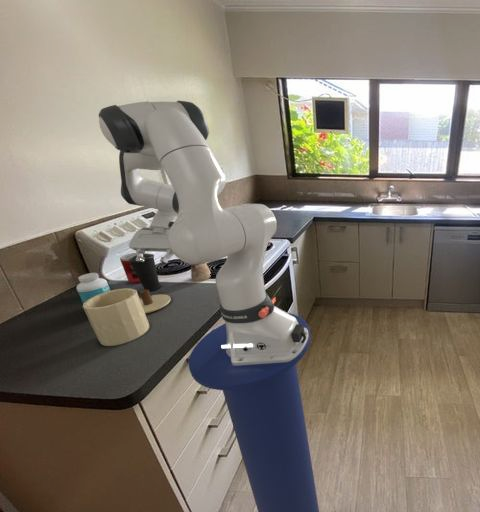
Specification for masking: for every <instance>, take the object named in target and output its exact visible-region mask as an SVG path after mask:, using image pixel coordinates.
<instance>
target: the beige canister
mask: <svg viewBox="0 0 480 512" xmlns="http://www.w3.org/2000/svg"><path fill="white" fill-rule="evenodd" d="M139 296H140V295H139V293H138V290H137V289H134V288H126V287H125V288H117V289H113V290H111V291H108V292H105V293H102V294H99V295H96V296H94V297H92V298H90V299H89V300H87V301H86V302H85V303H84V304H83V303H82V304H83V305H82V308H83V311H84V312H85V315H86V317H87V319H88V321H89V323H90V326H91V327H92V330H93V332H94V333H95V336H96V338H97V341H98V342H99V343H100V345H102V346H105V347H113V346H120V345H123V344H127V343H130V342H131V341H134V340H136V339H138V338H140V337H141V336H143V335H144V334H146V333H147V332H148V331H149V329H150V323H149V320H148V317H147V315H146V314H147V313H145V312H144V309H143V307H142V304H141V301H140V299H141V298H140V297H139Z"/></svg>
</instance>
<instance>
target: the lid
mask: <svg viewBox="0 0 480 512" xmlns="http://www.w3.org/2000/svg"><path fill="white" fill-rule="evenodd" d="M138 294H139V296H140V298H139V299H140V301H141V304H142V307H143V309H144V312H145V314H150V313H152V312H155V311H158V310H160V309H162V308H164V307H167V305H168V304H170V302H171V301H172V299H171V296H170V295H168V294H161V293H160V294H153V295H152V294H151V292H149V290H148V289H145V290H144V289H142V290H139V293H138Z"/></svg>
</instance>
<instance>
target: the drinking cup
mask: <svg viewBox="0 0 480 512" xmlns="http://www.w3.org/2000/svg"><path fill="white" fill-rule="evenodd" d="M143 257H144V258H145V259H144V262H138V261H136V258H137V255H135V256H133V257H131V258H130V259H129V262H131V264H132V266H133V268H134V270H135V272H136V274H137V276H138V278H139V280H140V282H141V283H140V284H141V286H142V288H143V290H145V289H148V290H149V292H150V293H151V292H154V291H157V290H159V289H160V288H161V284H160V280H159V274H158V271H157V267H156V262H155V254H153V253H147V252H145V253H144V254H143Z"/></svg>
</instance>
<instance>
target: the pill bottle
mask: <svg viewBox="0 0 480 512" xmlns="http://www.w3.org/2000/svg"><path fill="white" fill-rule="evenodd" d="M99 276H100V275H99V273H98V272H89V273H85V274H82V275H80V276H78V278H77V279H78V281H79V283H78V284H77V285H76V291H77V293H78V295H79V297H80V300H81V302H82V304H84V303H85V302H86V301H87V300H89V299H90V298H92V297H94V296H96V295H99V294H102V293H105V292H108V291H112V290H111V289H110V286H109V283H108V280H106V279H105V278H102V277H99Z"/></svg>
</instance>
